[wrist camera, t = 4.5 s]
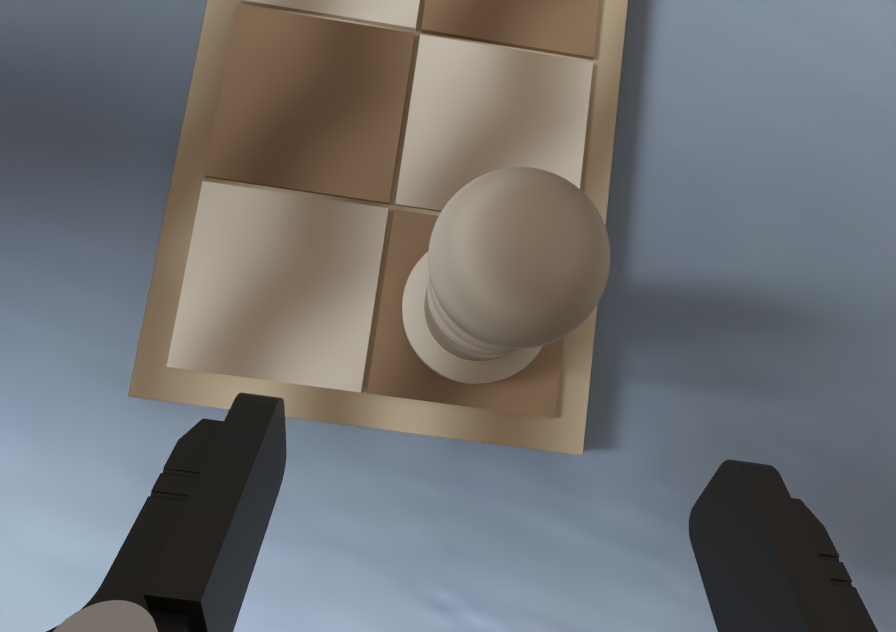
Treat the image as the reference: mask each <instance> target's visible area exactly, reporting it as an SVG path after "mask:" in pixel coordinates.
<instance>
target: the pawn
mask: <svg viewBox="0 0 896 632" xmlns="http://www.w3.org/2000/svg"><path fill="white" fill-rule="evenodd" d="M610 254H611V253H610V243H609V238H608V233H607V230H606V227H605V224H604V222H603V219H602V217H601V216H600V214H599V212H598V210H597V209H596V207H595V206H594V204H593V203H592V201H591V200H590V199H589V198H588V197H587V196H586V195H585V194H584V192H582V191H581V190H580V189H579V188H578V187H577V186H575V185H574V184H572V183H571V182H569V181H568V180H566V179H565V178H563V177H561V176H559V175H557V174H554V173H551V172H549V171H546V170H542V169H537V168H530V167H511V168H505V169H499V170H496V171H492V172H489V173H486V174H484V175H482V176H480V177H478V178H476V179H474V180H473V181H471V182H469V183H468V184H466V185H465V186H464V187H463V188H462V189H460V190H459V191H458V192H457V193H456V194H455V195H454V196H453V197H452V198H451V199H450V200H449V201H448V203H447V204H446V205H445V207H444V208H443V210H442V211H441V213H440V215H439V217H438V219H437V221H436V223H435V226H434V229H433V231H432V234H431V238H430V243H429V251H428V252H427V253H426V254H424V256H423V257H422V258H421V259H420V260H419V261H418V262H417V264H416V265H415V267H414V268H413V270H412V272H411V273H410V275H409V277H408V280H407V283H406V285H405V289H404V294H403V301H402V315H403V324H404V329H405V333H406V336H407V339H408V341H409V343H410V345H411V347H412V349H413V350H414V352H415V353H416V355H417V356H418V357H419V358H420V360H421V361H422V362H423V363H424V364H425V365H426V366H428V367H429V368H430V369H431V370H433V371H434V372H436V373H437V374H439V375H441V376H443V377H445V378H447V379H450V380H453V381H456V382H461V383H467V384H481V383H490V382H495V381H499V380H502V379H505V378H508V377H510V376H512V375H514V374H516V373H517V372H519V371H520V370H522V369H523V368H525V367H526V366H527V365H528V364H529V363H530V362H531V361H532V360H533V359H534V358H535V357H536V355H537V354H538V353H539V351H540V350H541V348H542V347H543V346H544V345H547V344H550V343H553V342H555V341H557V340H559V339H561V338H563V337H565V336H566V335H568V334H569V333H571V332H572V331H574V330H575V329H576V328H578V327H579V326H580V325H581V324H582V323H583V322H584V321H585V320H586V319H587V318H588V317H589V315H590V314H591V313H592V312H593V310H594V309H595V307H596V305H597V304H598V302H599V301H600V299H601V297H602V294H603V292H604V290H605V287H606V284H607V281H608V277H609V271H610Z"/></svg>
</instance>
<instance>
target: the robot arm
mask: <svg viewBox="0 0 896 632" xmlns="http://www.w3.org/2000/svg"><path fill="white" fill-rule="evenodd" d="M285 463H286V431H285V406H284V400H283V398H279V397H272V396H264V395H257V394H249V393H242V392H241V393H239V394H238V395H237V396H236V398H235V399H234V401H233V403H232V406H231V408H230V410H229V412H228V414H227V416H226V418H225V421H217V420H209V419H202V420H201V421H200V422H198V423H197V424H196V425H195V426H194V427H193V428H192V429H191V430H189V431H188V432H187V433H186V434H185V435H184V436H183V437H181V438H180V439H179V440H178V442H177V443H176V445H175V447H174V449H173V451H172V453H171V455H170V457H169V459H168V460H167V462H166V464H165V466H164V470H163V473H161V474H160V475H159V477H158V479H157V481H156V483H155V485H154V487H153V489H152V492H151V496H150V497H149V496H148V498H147V500H146V502H145V504H144V506H143V508H142V509H141V511H140V513H139V515H138V517H137V519H136V521H135V523H134V524H133V526H132V528H131V530H130V532H129V534H128V536H127V538H126V540H125V541H124V543H123V545H122V547H121V549H120V551H119V553H118V555H117V557H116V558H115V560H114V562H113V564H112V566H111V568H110V570H109V572H108V573H107V575H106V577H105V579H104V581H103V583H102V584H101V586H100V588H99V589H98V591H97V592H96V594H95V595H94V596H93V597H92V599H91V600H90V601H89V602H88V603H87V604H86V605H85V606H84V607H83V608H82V609H81V610H80V611H78V612H76V613H75V614H73V615H72V616H70V617H69V618H67V619H66V620H65V621H64V622H63V623H61V624H60V625H59V626H57V627H55V628H53V629H51V630H49V631H47V632H233V630H234V627H235V624H236V621H237V618H238V615H239V612H240V609H241V606H242V603H243V600H244V597H245V593H246V590H247V587H248V584H249V581H250V578H251V575H252V572H253V569H254V566H255V563H256V560H257V557H258V554H259V551H260V548H261V545H262V542H263V539H264V535H265V532H266V529H267V526H268V523H269V520H270V517H271V514H272V511H273V508H274V505H275V502H276V499H277V496H278V493H279V490H280V486H281V483H282V479H283V475H284V469H285ZM689 535H690V541H691V544H692V548H693V551H694V554H695V558H696V561H697V564H698V567H699V571H700V574H701V577H702V581H703V584H704V587H705V591H706V594H707V597H708V601H709V604H710V607H711V610H712V614H713V617H714V620H715V624H716V627H717V630H718V632H878V631H877V629H876V627H875V625H874V623H873V621H872V619H871V617H870V615H869V613H868V611H867V609H866V608H865V606H864V604H863V602H862V600H861V598H860V596H859V594H858V592H857V590H856V588H855V587H852V585H851V582H852V580H851V578H850V576H849V574H848V572H847V570H846V568H845V566H844V564H843V562H839V555H838V553H837V551H836V549H835V547H834V545H833V543H832V541H831V539H830V537H829V535H828V533H827V531H826V529H825V527H824V526H823V525H822V524H821V522H820V521H819V520H818V519H817V518H816V517H815V516H814V515H813V513H812V512H811V511H810V510H809V509H808V508H807V507H806V506H805V504H804V503H803V502H802V501H801V500H800V499H794V498H791V497H790V495H789V492H788V490H787V488H786V486H785V484H784V482H783V480H782V478H781V476H780V474H779V472H778V471H777V470H776V469H775V468H774V467H772V466H770V465H765V464H757V463H750V462H743V461H735V460H726V461H724V462H723V463H722V464H721V466H720V467H719V468H718V470H717V471H716V473H715V474H714V476H713V477H712V479H711V480H710V482H709V483H708V485H707V486H706V488H705V489H704V491H703V492H702V494H701V495H700V497H699V498H698V500H697V501H696V503H695V504H694V506H693V508H692V510H691V514H690V518H689Z"/></svg>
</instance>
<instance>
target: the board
mask: <svg viewBox="0 0 896 632" xmlns="http://www.w3.org/2000/svg"><path fill="white" fill-rule="evenodd" d="M627 5H628V0H208V1H207V6H206V11H205V16H204V21H203V26H202V30H201V35H200V40H199V45H198V50H197V55H196V60H195V65H194V70H193V75H192V80H191V85H190V90H189V95H188V100H187V105H186V110H185V115H184V120H183V125H182V130H181V135H180V140H179V145H178V150H177V155H176V160H175V165H174V170H173V175H172V180H171V185H170V189H169V194H168V199H167V204H166V209H165V214H164V219H163V224H162V229H161V234H160V239H159V244H158V249H157V254H156V259H155V264H154V269H153V274H152V279H151V284H150V289H149V294H148V299H147V304H146V309H145V314H144V319H143V324H142V329H141V334H140V339H139V344H138V349H137V353H136V358H135V363H134V368H133V373H132V378H131V383H130V388H129V393H128V397H136V398H144V399H151V400H159V401H167V402H175V403H182V404H190V405H198V406H206V407H213V408H221V409H229V410H230V408H231V406H232V403H233V401H234V399H235V398H236V396H237V395H238V394H239V393H241V392H242V393H249V394H257V395H264V396H272V397H279V398H283V400H284V406H285V417H290V418H298V419H306V420H314V421H321V422H329V423H337V424H345V425H352V426H360V427H368V428H375V429H383V430H391V431H399V432H406V433H414V434H422V435H429V436H437V437H445V438H453V439H460V440H468V441H476V442H483V443H491V444H499V445H507V446H514V447H522V448H530V449H538V450H545V451H553V452H561V453H568V454H576V455H583V446H584V436H585V426H586V416H587V406H588V396H589V386H590V376H591V366H592V356H593V346H594V336H595V325H596V315H597V305H598V304H597V305H596V307H595V309H594V310H593V312H592V313H591V314H590V315H589V317H588V318H587V319H586V320H585V321H584V322H583V323H582V324H581V325H580V326H579V327H578V328H576V329H575V330H574V331H572V332H571V333H569V334H568V335H566V336H565V337H563V338H561V339H559V340H557V341H555V342H553V343H550V344H547V345H544V346H543V347H542V348H541V350H540V351H539V353H538V354H537V355H536V357H535V358H534V359H533V360H532V361H531V362H530V363H529V364H528V365H527V366H526V367H525V368H523V369H522V370H520V371H519V372H517V373H516V374H514V375H512V376H510V377H508V378H505V379H502V380H499V381H495V382H490V383H481V384H467V383H461V382H456V381H453V380H450V379H447V378H445V377H443V376H441V375H439V374H437V373H436V372H434V371H433V370H431V369H430V368H429V367H428V366H426V365H425V364H424V363H423V362H422V361H421V360H420V358H419V357H418V356H417V355H416V353H415V352H414V350H413V349H412V347H411V345H410V343H409V341H408V339H407V336H406V333H405V329H404V324H403V315H402V301H403V294H404V289H405V285H406V283H407V280H408V277H409V275H410V273H411V272H412V270H413V268H414V267H415V265H416V264H417V262H418V261H419V260H420V259H421V258H422V257H423V256H424V254H426V253H427V252H428V251H429V243H430V238H431V234H432V231H433V229H434V226H435V223H436V221H437V219H438V217H439V215H440V213H441V211H442V210H443V208H444V207H445V205H446V204H447V203H448V201H449V200H450V199H451V198H452V197H453V196H454V195H455V194H456V193H457V192H458V191H459V190H460V189H462V188H463V187H464V186H465V185H466V184H468V183H469V182H471V181H473V180H474V179H476V178H478V177H480V176H482V175H484V174H486V173H489V172H492V171H496V170H499V169H505V168H511V167H530V168H537V169H542V170H546V171H549V172H551V173H554V174H557V175H559V176H561V177H563V178H565V179H566V180H568V181H569V182H571V183H572V184H574V185H575V186H577V187H578V188H579V189H580V190H581V191H582V192H584V194H585V195H586V196H587V197H588V198H589V199H590V200H591V201H592V203H593V204H594V206H595V207H596V209H597V210H598V212H599V214H600V216H601V217H602V219H603V222H604V224H605V225H606V215H607V205H608V195H609V185H610V175H611V165H612V155H613V145H614V135H615V125H616V115H617V105H618V95H619V85H620V75H621V65H622V55H623V45H624V35H625V25H626V15H627Z"/></svg>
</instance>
